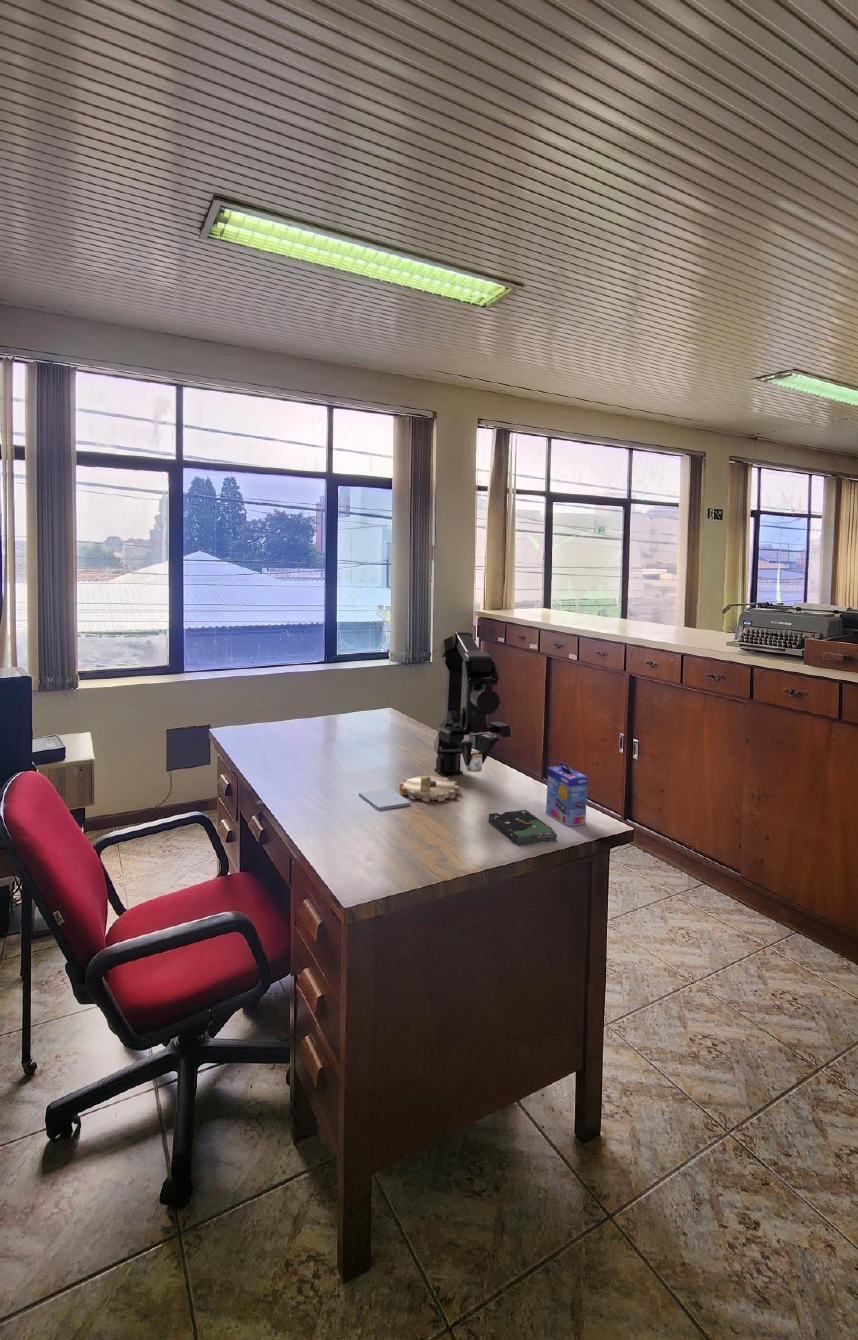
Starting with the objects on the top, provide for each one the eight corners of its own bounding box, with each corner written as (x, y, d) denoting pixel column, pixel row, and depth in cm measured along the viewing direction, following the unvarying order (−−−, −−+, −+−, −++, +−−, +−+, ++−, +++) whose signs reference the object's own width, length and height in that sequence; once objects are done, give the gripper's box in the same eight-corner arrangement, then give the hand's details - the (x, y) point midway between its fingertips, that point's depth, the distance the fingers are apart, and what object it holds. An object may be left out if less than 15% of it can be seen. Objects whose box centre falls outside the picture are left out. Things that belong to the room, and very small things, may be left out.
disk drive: (487, 824, 162) (517, 848, 149) (487, 813, 162) (518, 836, 148) (524, 819, 166) (557, 842, 153) (525, 809, 166) (558, 830, 152)
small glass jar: (476, 766, 174) (477, 749, 173) (485, 770, 171) (486, 753, 170) (462, 768, 172) (463, 751, 171) (471, 772, 169) (472, 755, 168)
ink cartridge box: (543, 813, 169) (547, 757, 167) (562, 810, 172) (565, 755, 169) (567, 827, 160) (571, 769, 158) (586, 824, 163) (590, 766, 161)
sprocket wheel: (407, 779, 192) (408, 761, 191) (463, 785, 188) (464, 766, 188) (392, 797, 176) (393, 778, 175) (452, 804, 173) (453, 784, 172)
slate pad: (389, 791, 182) (389, 788, 182) (410, 805, 172) (410, 802, 172) (359, 795, 178) (359, 792, 177) (378, 810, 167) (378, 807, 167)
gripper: (489, 696, 180) (486, 752, 183) (428, 701, 171) (426, 760, 173) (514, 704, 171) (511, 763, 173) (451, 710, 162) (449, 772, 164)
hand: (474, 764), depth 171 cm, fingers closed on small glass jar, 4 cm apart
